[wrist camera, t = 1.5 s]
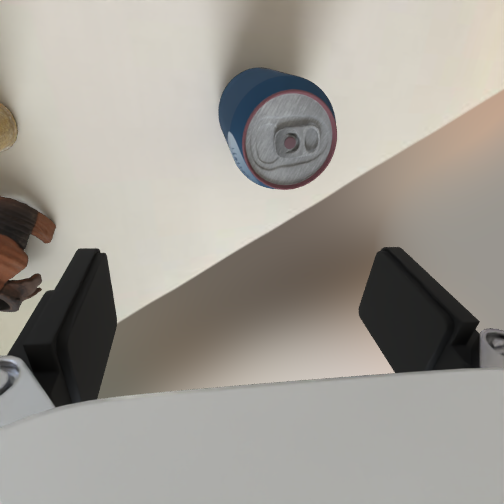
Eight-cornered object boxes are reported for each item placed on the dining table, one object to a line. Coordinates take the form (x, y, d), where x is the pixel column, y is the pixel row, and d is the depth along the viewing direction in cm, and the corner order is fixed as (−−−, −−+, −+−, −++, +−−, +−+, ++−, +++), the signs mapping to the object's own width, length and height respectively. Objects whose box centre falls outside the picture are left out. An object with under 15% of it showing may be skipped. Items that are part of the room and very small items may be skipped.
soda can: (222, 154, 31) (238, 206, 21) (212, 71, 27) (225, 84, 17) (294, 145, 32) (343, 191, 22) (293, 62, 28) (352, 71, 18)
